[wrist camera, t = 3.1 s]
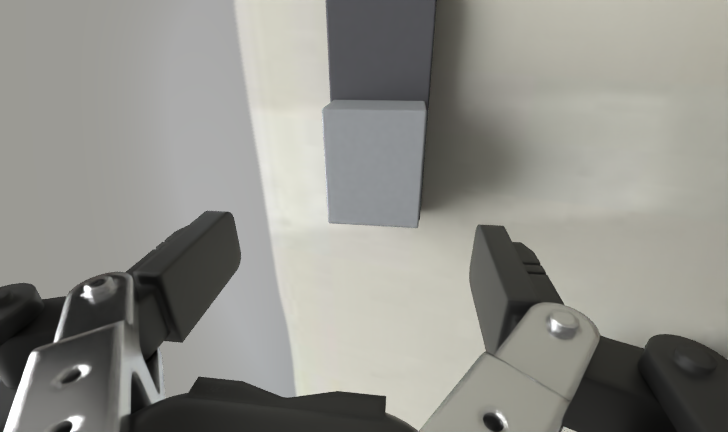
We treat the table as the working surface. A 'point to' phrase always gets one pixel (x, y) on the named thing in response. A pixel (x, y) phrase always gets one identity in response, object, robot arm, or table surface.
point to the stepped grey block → (377, 109)
